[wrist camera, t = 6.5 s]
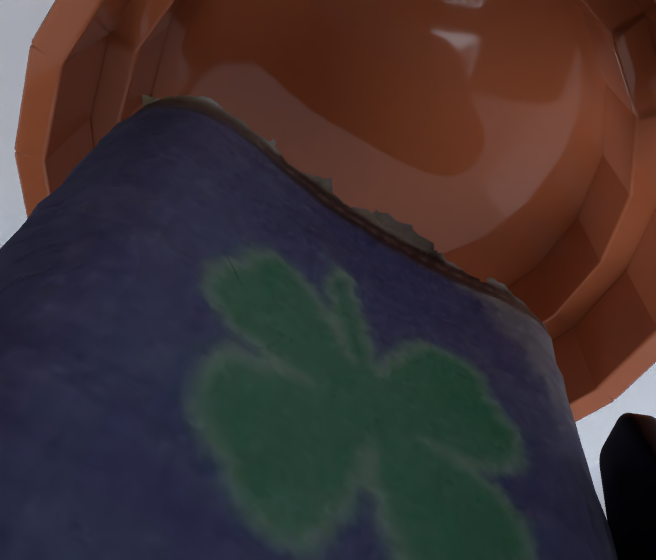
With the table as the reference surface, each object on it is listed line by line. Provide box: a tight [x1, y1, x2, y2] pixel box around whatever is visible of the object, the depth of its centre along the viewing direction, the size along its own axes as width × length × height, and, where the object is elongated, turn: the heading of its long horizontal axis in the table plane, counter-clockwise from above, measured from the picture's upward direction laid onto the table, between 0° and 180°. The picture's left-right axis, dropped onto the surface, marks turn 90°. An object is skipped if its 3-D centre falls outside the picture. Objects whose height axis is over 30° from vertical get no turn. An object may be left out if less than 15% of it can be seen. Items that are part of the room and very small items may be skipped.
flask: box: [0, 94, 618, 560], centre depth 8 cm, size 9×3×11 cm, turn 56°
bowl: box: [15, 0, 656, 422], centre depth 14 cm, size 14×14×5 cm
